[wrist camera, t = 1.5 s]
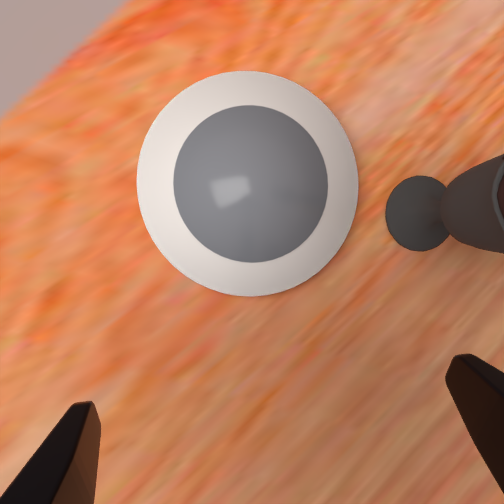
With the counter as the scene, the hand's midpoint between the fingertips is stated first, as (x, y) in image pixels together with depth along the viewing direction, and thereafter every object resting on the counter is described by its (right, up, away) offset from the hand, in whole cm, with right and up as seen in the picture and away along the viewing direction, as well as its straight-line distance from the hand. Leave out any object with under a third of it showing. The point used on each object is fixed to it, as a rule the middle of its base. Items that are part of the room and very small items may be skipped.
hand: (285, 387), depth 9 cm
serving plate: (-1, +7, +14) cm, 15 cm away
